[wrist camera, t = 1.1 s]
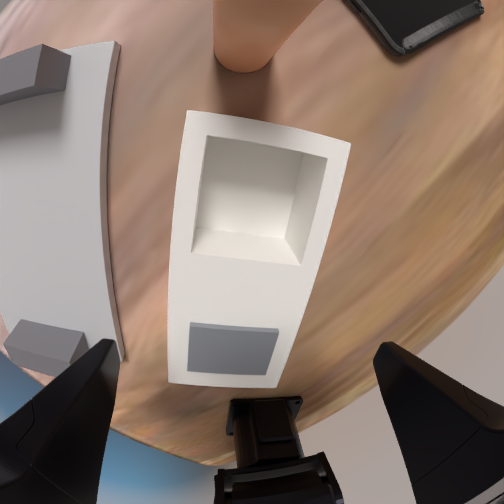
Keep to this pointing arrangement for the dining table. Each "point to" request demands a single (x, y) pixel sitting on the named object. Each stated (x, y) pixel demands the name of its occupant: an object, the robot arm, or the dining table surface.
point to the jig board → (56, 204)
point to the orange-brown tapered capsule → (255, 29)
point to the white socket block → (246, 245)
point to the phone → (414, 20)
